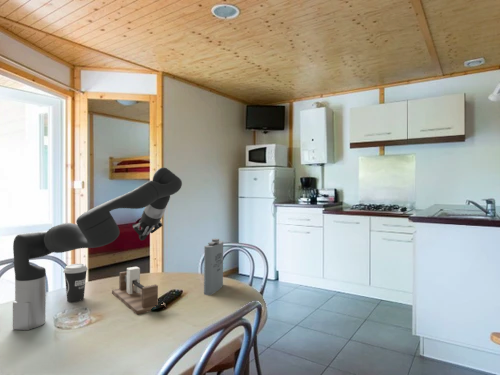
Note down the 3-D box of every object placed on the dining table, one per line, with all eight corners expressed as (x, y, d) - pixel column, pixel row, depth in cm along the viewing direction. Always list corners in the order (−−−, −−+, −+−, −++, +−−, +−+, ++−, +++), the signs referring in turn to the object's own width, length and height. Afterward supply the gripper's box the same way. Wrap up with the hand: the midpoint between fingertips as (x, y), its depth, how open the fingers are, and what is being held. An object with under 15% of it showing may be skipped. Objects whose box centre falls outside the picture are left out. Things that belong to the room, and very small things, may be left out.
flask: (212, 295, 151) (212, 241, 151) (202, 294, 153) (203, 241, 152) (225, 284, 168) (225, 236, 168) (217, 283, 169) (217, 235, 169)
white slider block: (139, 292, 148) (139, 268, 148) (129, 294, 145) (129, 269, 145) (136, 290, 151) (136, 266, 151) (126, 292, 148) (126, 268, 148)
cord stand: (165, 307, 136) (165, 284, 136) (137, 314, 128) (137, 290, 128) (137, 288, 161) (137, 268, 160) (112, 293, 153) (112, 272, 153)
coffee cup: (69, 305, 137) (69, 269, 137) (59, 300, 143) (59, 266, 143) (91, 299, 145) (91, 265, 145) (81, 294, 151) (81, 262, 151)
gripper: (141, 220, 123) (129, 248, 132) (172, 216, 132) (159, 243, 141) (134, 205, 126) (123, 234, 135) (165, 202, 135) (153, 229, 145)
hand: (141, 238), depth 138 cm, fingers closed
